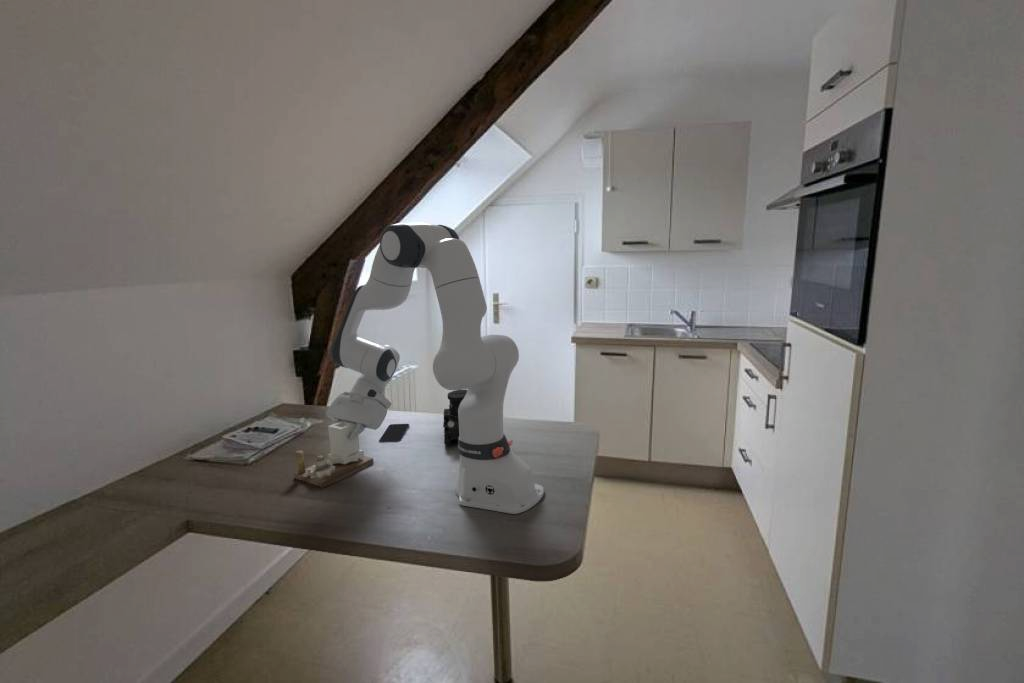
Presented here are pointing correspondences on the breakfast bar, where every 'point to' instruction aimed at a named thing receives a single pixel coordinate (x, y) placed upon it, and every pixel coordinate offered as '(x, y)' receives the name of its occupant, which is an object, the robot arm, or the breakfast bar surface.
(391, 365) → the robot arm
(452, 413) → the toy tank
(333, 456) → the white square socket
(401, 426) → the smartphone
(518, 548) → the breakfast bar surface
